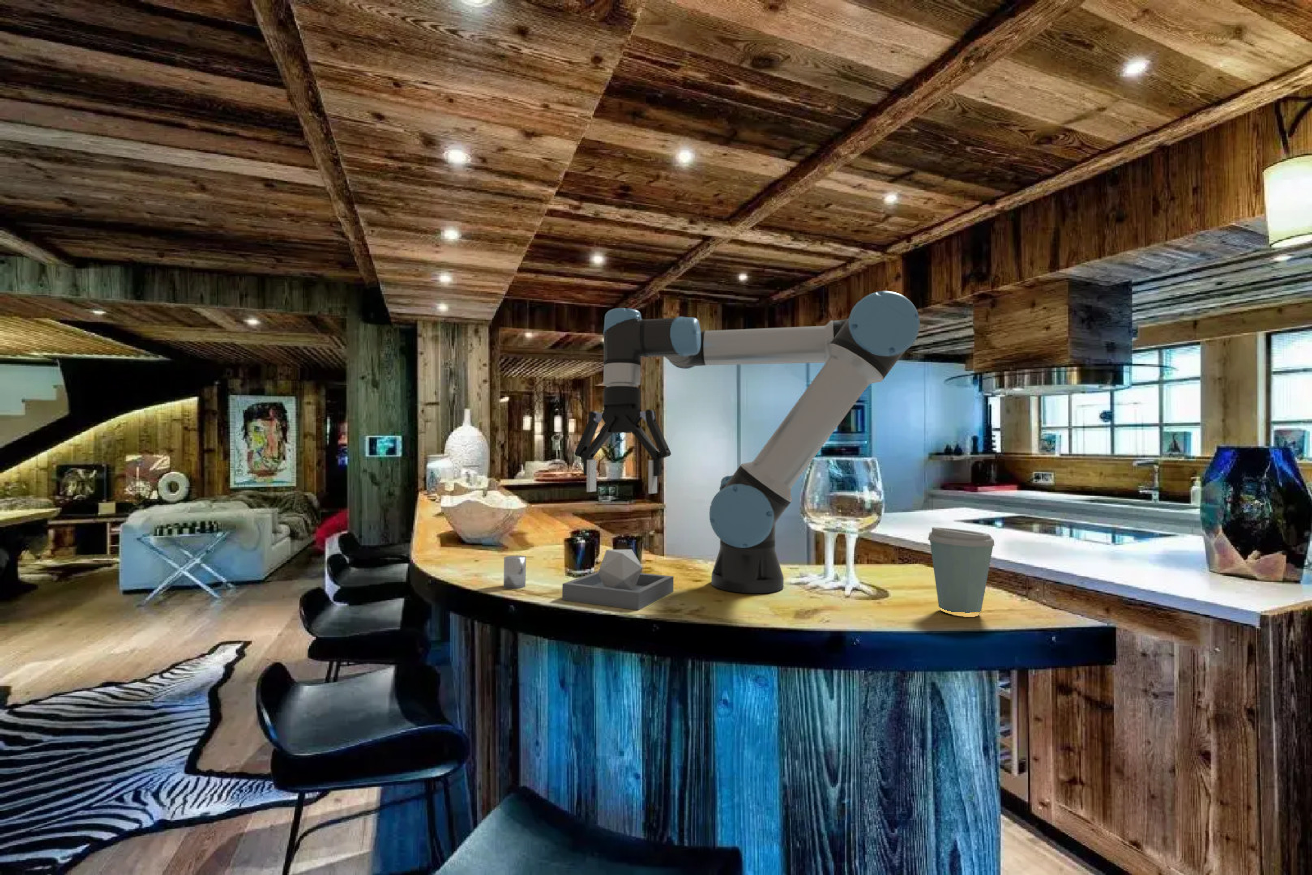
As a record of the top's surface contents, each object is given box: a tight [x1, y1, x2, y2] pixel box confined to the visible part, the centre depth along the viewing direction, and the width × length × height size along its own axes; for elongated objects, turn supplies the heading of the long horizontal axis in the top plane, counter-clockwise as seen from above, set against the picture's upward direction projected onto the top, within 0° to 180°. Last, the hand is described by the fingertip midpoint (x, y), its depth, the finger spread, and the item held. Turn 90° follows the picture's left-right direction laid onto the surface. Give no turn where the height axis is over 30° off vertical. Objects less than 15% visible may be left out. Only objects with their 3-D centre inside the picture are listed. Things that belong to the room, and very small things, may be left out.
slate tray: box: [561, 571, 674, 611], centre depth 112 cm, size 16×16×3 cm
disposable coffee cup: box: [927, 526, 995, 613], centre depth 102 cm, size 11×11×15 cm
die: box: [597, 548, 643, 591], centre depth 112 cm, size 8×9×10 cm
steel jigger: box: [503, 554, 527, 590], centre depth 119 cm, size 4×4×6 cm
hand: (621, 492), depth 115 cm, fingers open, 13 cm apart
